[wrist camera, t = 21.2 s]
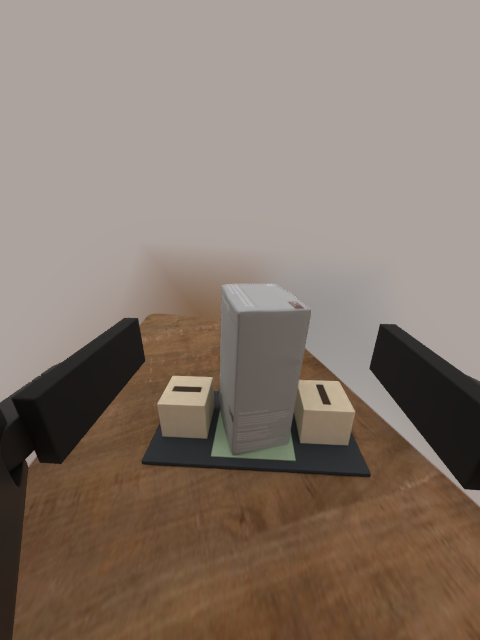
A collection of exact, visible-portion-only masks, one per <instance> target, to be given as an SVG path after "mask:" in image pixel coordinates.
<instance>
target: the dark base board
mask: <svg viewBox="0 0 480 640" xmlns="http://www.w3.org/2000/svg"><path fill="white" fill-rule="evenodd" d="M157 406H158V412H159V418H160V425H159V427H158V429H157V431H156V433H155V435H154V437H153V439H152V441H151V443H150V445H149V447H148V449H147V451H146V453H145V455H144V457H143V459H142V464H154V465H172V466H190V467H207V468H225V469H243V470H261V471H279V472H296V473H314V474H332V475H350V476H368V477H370V471H369V469H368V467H367V465H366V463H365V461H364V458H363V456H362V454H361V452H360V450H359V448H358V446H357V443H356V441H355V439H354V437H353V435H352V433H351V429H352V425H353V420H354V416H355V411H354V409H353V407H352V405H351V403H350V401H349V399H348V397H347V396H346V394H345V392H344V390H343V388H342V386H341V384H340V382H339V381H312V380H299V384H298V389H297V395H296V401H295V407H294V413H293V418H292V424H291V430H290V436H289V443H288V444H287V445H282V446H277V447H273V448H267V449H262V450H257V451H252V452H247V453H242V454H237V455H233V454H232V453H231V451H230V448H229V444H228V441H227V437H226V433H225V429H224V425H223V420H222V415H221V409H220V404H219V392H217V391H214V387H213V377H190V376H173V377H172V378H171V380H170V382H169V384H168V386H167V387H166V389H165V391H164V393H163V394H162V396H161V398H160V400H159V402H158V403H157Z"/></svg>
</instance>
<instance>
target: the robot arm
mask: <svg viewBox="0 0 480 640" xmlns="http://www.w3.org/2000/svg"><path fill="white" fill-rule="evenodd" d="M144 362H145V356H144V350H143V344H142V339H141V333H140V327H139V321H138V318H124V319H122V320H121V321H120V322H118V323H117V324H116V325H114V326H113V327H111V328H110V329H108V330H107V331H105V332H104V333H103V334H101V335H100V336H98V337H97V338H96V339H94V340H93V341H91V342H90V343H89V344H87V345H86V346H84V347H83V348H81V349H80V350H79V351H77V352H76V353H74V354H73V355H72V356H70V357H69V358H67V359H66V360H64V361H63V362H61V363H59V364H57V365H55V366H53V367H51V368H49V369H48V370H47V371H45V372H44V373H42V374H41V376H38V377H36V378H35V379H34V380H32V382H29V383H28V384H26V385H25V386H23V387H22V388H21V389H19V390H18V391H16V392H15V393H13V394H12V395H10V396H9V397H8V398H6V399H5V400H3V401H2V402H1V403H0V640H12V636H13V625H14V614H15V604H16V593H17V582H18V572H19V561H20V550H21V539H22V529H23V518H24V507H25V497H26V486H27V475H28V465H27V462H26V460H25V459H26V458H27V457H28V456H29V455H30V454H31V453H32V452H33V451H34V450H35V453H36V455H37V457H38V459H39V461H40V463H55V464H61V463H62V462H63V461H64V460H65V459H66V457H67V456H68V455H69V454H70V452H71V451H72V450H73V449H74V448H75V446H76V445H77V444H78V443H79V441H80V440H81V439H82V438H83V437H84V435H85V434H86V433H87V432H88V430H89V429H90V428H91V427H92V425H93V424H94V423H95V422H96V421H97V419H98V418H99V417H100V416H101V414H102V413H103V412H104V411H105V410H106V408H107V407H108V406H109V405H110V403H111V402H112V401H113V400H114V399H115V397H116V396H117V395H118V394H119V392H120V391H121V390H122V389H123V387H124V386H125V385H126V384H127V383H128V381H129V380H130V379H131V378H132V376H133V375H134V374H135V373H136V372H137V370H138V369H139V368H140V367H141V365H142V364H143V363H144ZM370 370H371V371H372V372H373V374H374V375H375V376H376V378H377V379H378V380H379V381H380V383H381V384H382V385H383V386H384V388H385V389H386V390H387V391H388V393H389V394H390V395H391V397H392V398H393V399H394V400H395V402H396V403H397V404H398V405H399V407H400V408H401V409H402V411H403V412H404V413H405V414H406V416H407V417H408V418H409V419H410V421H411V422H412V423H413V424H414V426H415V427H416V428H417V430H418V431H419V432H420V433H421V435H422V436H423V437H424V438H425V439H426V441H427V442H428V444H429V445H430V446H431V447H432V448H433V450H434V451H435V452H436V453H437V455H438V456H439V458H440V459H441V460H442V461H443V463H444V464H445V465H446V466H447V468H448V469H449V470H450V472H451V473H452V474H453V475H454V476H455V478H456V479H457V480H458V482H459V483H460V484H461V485H462V487H463V488H464V489H470V490H480V381H478V380H476V379H474V378H472V377H470V376H467V375H465V374H464V373H462V372H461V371H460V370H458V369H457V368H455V367H454V366H453V365H451V364H450V363H448V362H447V361H446V360H444V359H443V358H441V357H440V356H438V355H437V354H436V353H434V352H433V351H432V350H430V349H429V348H427V347H426V346H425V345H423V344H422V343H420V342H419V341H417V340H416V339H415V338H413V337H412V336H411V335H409V334H408V333H407V332H405V331H404V330H402V329H401V328H400V327H398V326H397V325H395V324H380V327H379V331H378V335H377V339H376V343H375V348H374V352H373V356H372V360H371V364H370Z"/></svg>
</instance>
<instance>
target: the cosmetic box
mask: <svg viewBox="0 0 480 640" xmlns="http://www.w3.org/2000/svg"><path fill="white" fill-rule="evenodd" d="M310 316H311V309H310V308H309V307H307V306H306V305H304V304H303V303H302V302H300V301H299V300H298V299H296V298H295V295H294V294H293V293H291V292H288V291H285V290H284V289H282V288H281V287H280V286H278V285H277V284H226V285H222V304H221V349H220V390H219V404H220V409H221V415H222V420H223V425H224V429H225V433H226V437H227V441H228V444H229V448H230V451H231V453H232V454H233V455H237V454H242V453H247V452H252V451H257V450H262V449H267V448H273V447H277V446H282V445H287V444H288V443H289V436H290V430H291V424H292V418H293V413H294V407H295V401H296V395H297V389H298V384H299V378H300V372H301V366H302V361H303V355H304V350H305V344H306V337H307V333H308V327H309V321H310Z"/></svg>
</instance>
